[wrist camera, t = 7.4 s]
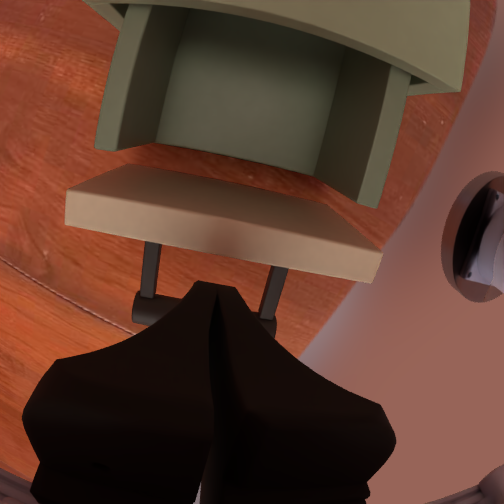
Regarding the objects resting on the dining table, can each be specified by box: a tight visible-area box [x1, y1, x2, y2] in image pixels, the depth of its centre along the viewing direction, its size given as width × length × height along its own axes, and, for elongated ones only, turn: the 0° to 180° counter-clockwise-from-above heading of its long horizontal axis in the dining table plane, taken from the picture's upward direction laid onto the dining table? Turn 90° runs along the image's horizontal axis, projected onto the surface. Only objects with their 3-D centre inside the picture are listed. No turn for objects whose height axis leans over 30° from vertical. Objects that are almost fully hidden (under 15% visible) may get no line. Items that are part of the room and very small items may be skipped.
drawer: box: [65, 4, 411, 338], centre depth 12 cm, size 17×10×7 cm, turn 167°
